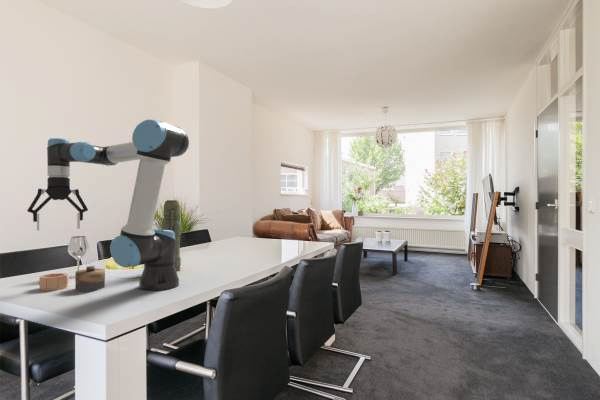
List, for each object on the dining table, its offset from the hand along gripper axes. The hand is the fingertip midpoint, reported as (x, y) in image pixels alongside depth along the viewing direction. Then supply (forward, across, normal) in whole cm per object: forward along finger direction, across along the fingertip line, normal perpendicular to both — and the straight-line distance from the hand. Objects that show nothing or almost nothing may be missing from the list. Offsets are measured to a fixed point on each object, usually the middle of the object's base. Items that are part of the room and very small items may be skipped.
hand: (58, 229), depth 145 cm
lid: (+20, -10, +13) cm, 26 cm away
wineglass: (+23, -8, -15) cm, 29 cm away
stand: (+23, -10, +13) cm, 28 cm away
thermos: (+23, -46, -6) cm, 52 cm away
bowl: (+23, +2, +4) cm, 23 cm away
